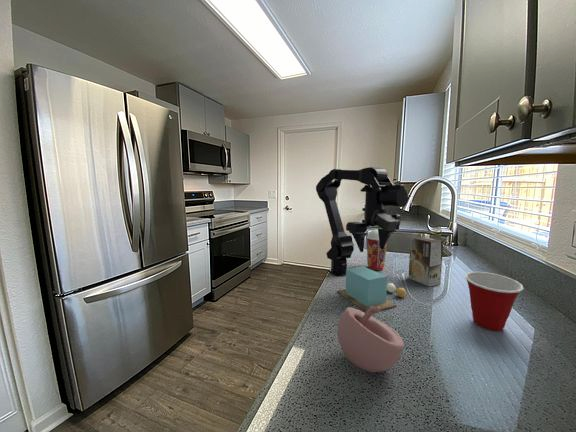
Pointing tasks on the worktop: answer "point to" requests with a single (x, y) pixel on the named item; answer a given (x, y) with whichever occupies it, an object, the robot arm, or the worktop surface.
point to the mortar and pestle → (368, 340)
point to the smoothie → (375, 251)
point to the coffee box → (425, 260)
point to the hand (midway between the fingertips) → (372, 250)
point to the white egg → (391, 287)
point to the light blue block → (366, 286)
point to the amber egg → (401, 292)
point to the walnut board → (365, 308)
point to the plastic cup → (491, 298)
